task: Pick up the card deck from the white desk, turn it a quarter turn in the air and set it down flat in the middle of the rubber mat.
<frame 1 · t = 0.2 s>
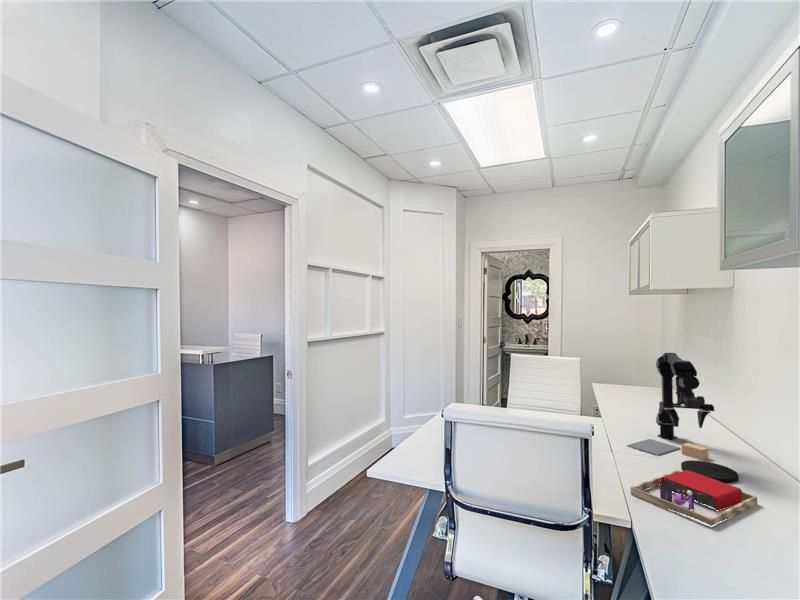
hand: (688, 427, 166), 15 cm above the table, tool pointing down, fingers open, 9 cm apart
red device housing: (700, 497, 136), on the table
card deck: (695, 456, 171), on the table
mat: (653, 447, 183), on the table
organizer frame: (692, 499, 134), on the table
wireless charger: (708, 474, 154), on the table
game card: (676, 507, 129), on the table
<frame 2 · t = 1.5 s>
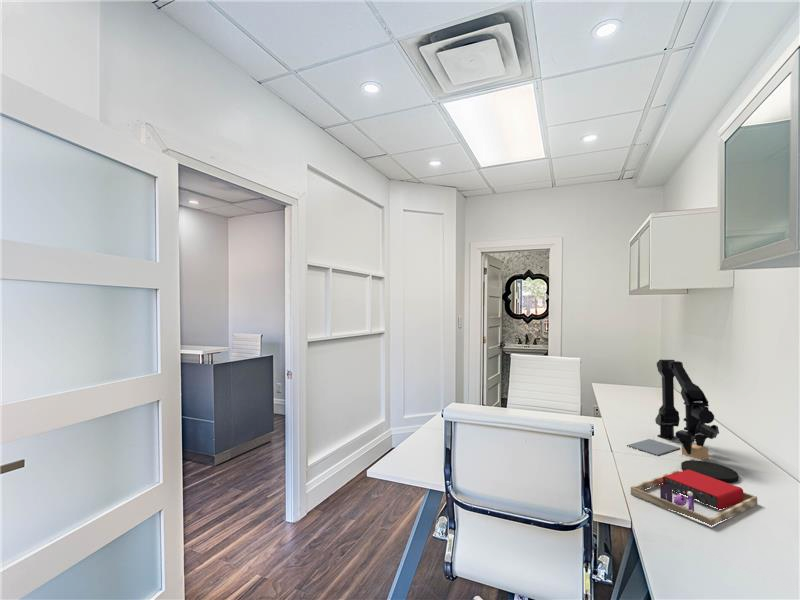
hand: (694, 452, 172), 2 cm above the table, tool pointing down, fingers open, 9 cm apart
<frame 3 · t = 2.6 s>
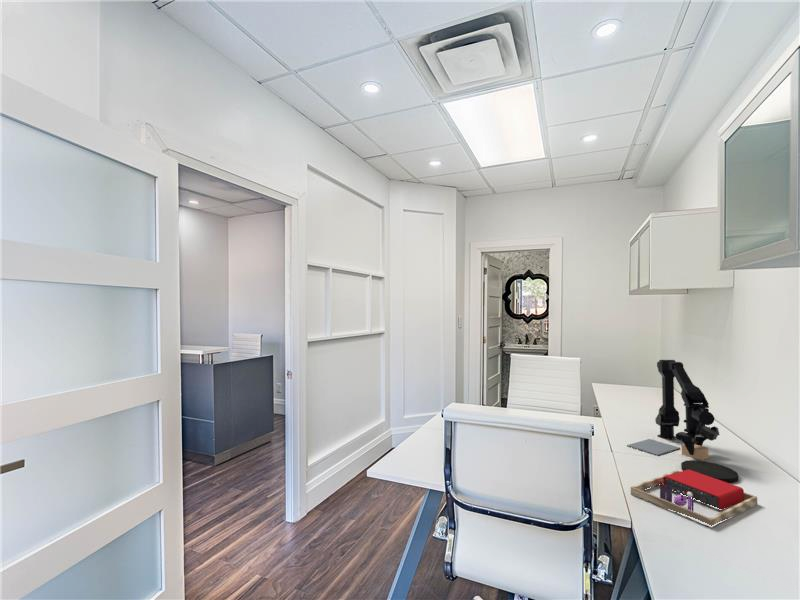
hand: (694, 453, 172), 1 cm above the table, tool pointing down, fingers closed on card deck, 5 cm apart
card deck: (695, 456, 171), on the table, touching gripper
when the fingers open (3 cm above the table, at t = 9.0 s): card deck stays where it is, resting on mat.
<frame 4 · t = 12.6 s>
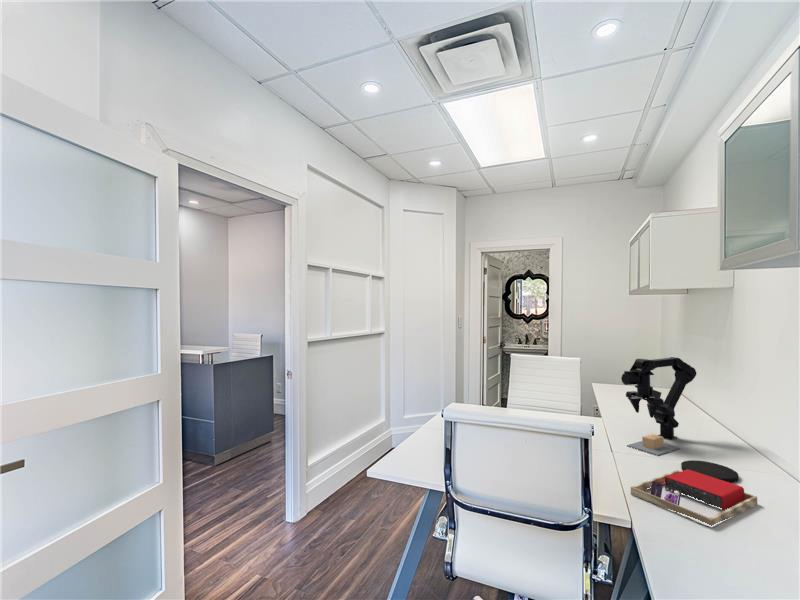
hand: (644, 415, 195), 12 cm above the table, tool pointing down, fingers open, 9 cm apart
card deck: (653, 446, 183), point 1 cm above the table, touching mat
game card: (666, 505, 130), on the table
at the end: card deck inside the target area on the mat (0.0 cm from its centre), point 0.6 cm above the mat's base; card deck tilted 0°; the gripper is holding nothing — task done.
